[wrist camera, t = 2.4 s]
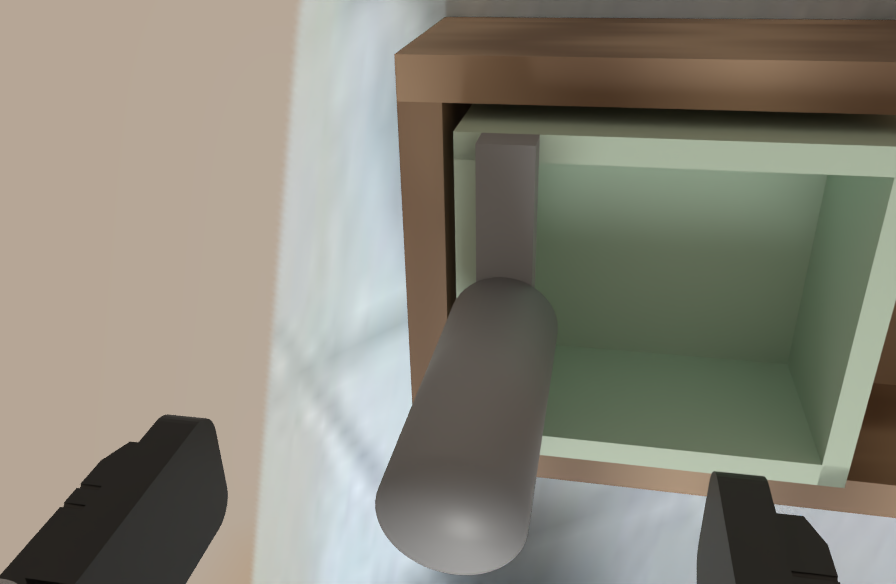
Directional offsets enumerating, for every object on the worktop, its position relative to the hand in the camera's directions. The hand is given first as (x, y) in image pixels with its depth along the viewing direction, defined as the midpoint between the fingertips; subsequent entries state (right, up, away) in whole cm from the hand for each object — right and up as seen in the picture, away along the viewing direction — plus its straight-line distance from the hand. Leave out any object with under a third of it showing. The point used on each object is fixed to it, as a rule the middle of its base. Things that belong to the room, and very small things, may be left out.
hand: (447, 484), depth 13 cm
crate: (+6, +5, +9) cm, 12 cm away
